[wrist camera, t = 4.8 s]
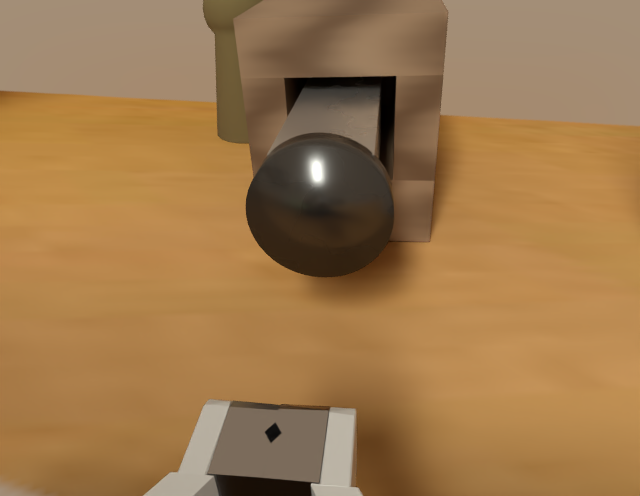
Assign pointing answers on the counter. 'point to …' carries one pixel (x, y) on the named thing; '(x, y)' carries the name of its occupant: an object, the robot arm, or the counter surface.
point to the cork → (228, 67)
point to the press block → (353, 61)
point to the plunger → (325, 181)
